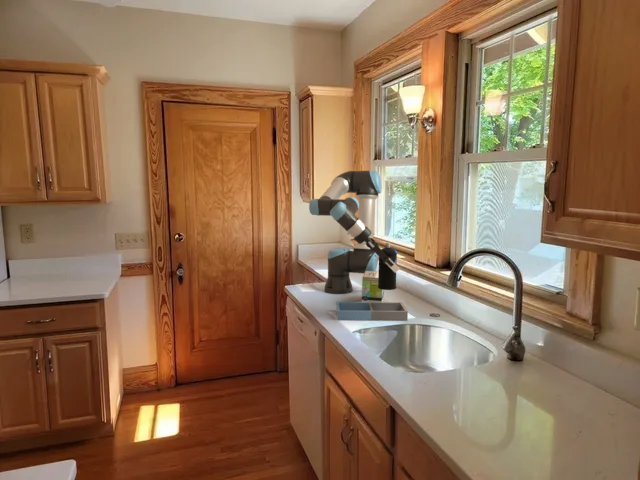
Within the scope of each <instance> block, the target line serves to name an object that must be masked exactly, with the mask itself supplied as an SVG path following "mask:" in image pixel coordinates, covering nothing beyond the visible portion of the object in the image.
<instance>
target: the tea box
mask: <svg viewBox="0 0 640 480" xmlns="http://www.w3.org/2000/svg"><path fill="white" fill-rule="evenodd" d="M378 276H379V271H376V270H375V271H365V273H363V275H362V279H361V280H362V281H361V282H362V283H361V284H362V285H361V302H384V300H385V299H384V298H385V290H382V289H379V288H378Z"/></svg>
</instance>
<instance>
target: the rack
mask: <svg viewBox="0 0 640 480" xmlns="http://www.w3.org/2000/svg"><path fill="white" fill-rule="evenodd" d="M408 314H409V313H408V310H407V308H406V307H405V305H404V304H403V302H397V301H396V302H392V301H391V302H389V301H387V302H384V301H383V302H362V301H336V319H337V321H390V322H391V321H393V322H394V321H396V322H397V321H400V322H404V321H405V322H406V321H407V322H408V316H409V315H408Z"/></svg>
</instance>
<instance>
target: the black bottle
mask: <svg viewBox="0 0 640 480" xmlns="http://www.w3.org/2000/svg"><path fill="white" fill-rule="evenodd" d="M381 250H382V251H383V252H384V254H385V255H386V256H387V257H389V258H390V259H391V260H392V261H393V262H394V263H395V264H396V265H397V262H398V261H397V260H398V258H397V257H398V255H397V254H398V252H397V250H396V249H395V248H393V247H391V242H385V247H384V248H381ZM383 262H384V261H383V260H382V259H381V258H380V257H379V256H378V272H379V276H378V288H379V289H382V290H384V291H394V290H396V289H397V272H396V273H395V272H394V271H393V270H392V269H391V268H390V267H389V266H388V265H387V264H386V263H383ZM397 266H398V265H397Z"/></svg>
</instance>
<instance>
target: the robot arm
mask: <svg viewBox="0 0 640 480" xmlns="http://www.w3.org/2000/svg"><path fill="white" fill-rule="evenodd" d="M330 183H331V184H330V186H329V187H328V188H327V189H326V190H325V192H323V194H322V195H321V196H320V197H319V198H311V200H310V201H309V205H308V208H309V213H310V214H311V215H313V216H321V217H323V216H326V217H327V216H331V217H332V218H333V220H334V221H336V222H337V223H338V224H339V225H340V226H341V227H342V228H343V229H344V230H345V231H346V232H347V235H350V236H351V238H353V239H354V240H355V242H356V245H354V247H353V250H351V249H350V247H336V248H332V249H330V250H329V251H328V253H327V279H326V281H325V285H324V291H325V293H329V294H334V295H344V294H349V293H352V292H353V284H352V281H351V278H350V274H351V273H352V274H364V273H365V271H376V270H377V267H378V265H379V257H380V258H381V259H382V260H383V261H384V262H383V263H386V264H387V265H388V266H389V267H390V268H391V269H392V270H393V271H394V272H395V273H396V274H397V272H398V271H399V270H400V267H399V266H398V265H396V264H395V263H394V262H393V261H392V260H391V259H390V258H389V257H387V256H386V255H385V254H384V252H383V251H382V250H381V249H382V248H381V247H380V246H379V244H378V243H377V242H376V240H375V239H374V229H375V226H374V225H375V209H376V207H375V206H376V205H375V204H376V199H377V198H378V197H379V194H381V193H382V191H383V190H382V188H383V186H382V184H383V183H382V178H381V175H380V172H379V171H377V170H348V171H345V172H343V173H340V174H338V175H337V176H336V177H334V178H333V179H332V181H331V182H330ZM349 193H351V194H352V193H353V194H355V196H356V197H354V196H348V197H346V198H344V199H342V198H341V197H342V196H343V195H345V194H349ZM340 198H341V199H340ZM356 214H357V215H356Z"/></svg>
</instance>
